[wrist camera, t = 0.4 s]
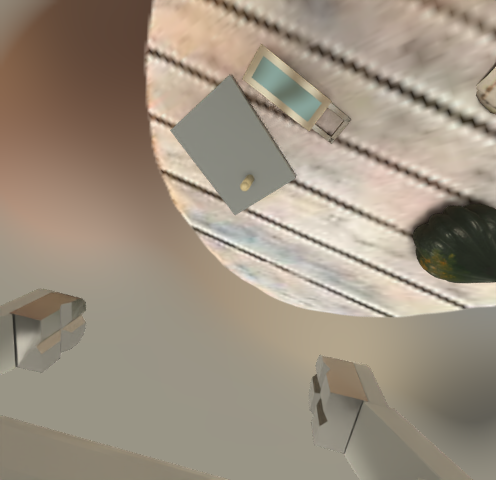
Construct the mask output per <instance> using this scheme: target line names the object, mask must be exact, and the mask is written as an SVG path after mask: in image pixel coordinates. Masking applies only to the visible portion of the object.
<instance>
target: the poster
mask: <svg viewBox="0 0 496 480" xmlns="http://www.w3.org/2000/svg"><path fill="white" fill-rule="evenodd" d="M477 90H478V91H477V94H476V96H477V97H478V99H479V101H480V102H481V103H482V104H483V105H484V106H485V107H486V108H487V109H488V110H489V111H490V112H491V113H493V114H496V67H495V68H494V69H493V70H492V71H491V72H490V73H489V75H488V76H487V77H486V78H485V79H483V80H482V81H481V82H480V83H479V84H478V85H477Z"/></svg>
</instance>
